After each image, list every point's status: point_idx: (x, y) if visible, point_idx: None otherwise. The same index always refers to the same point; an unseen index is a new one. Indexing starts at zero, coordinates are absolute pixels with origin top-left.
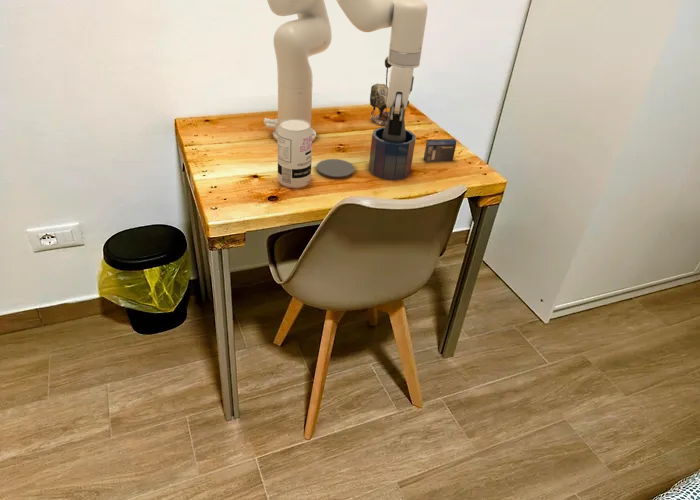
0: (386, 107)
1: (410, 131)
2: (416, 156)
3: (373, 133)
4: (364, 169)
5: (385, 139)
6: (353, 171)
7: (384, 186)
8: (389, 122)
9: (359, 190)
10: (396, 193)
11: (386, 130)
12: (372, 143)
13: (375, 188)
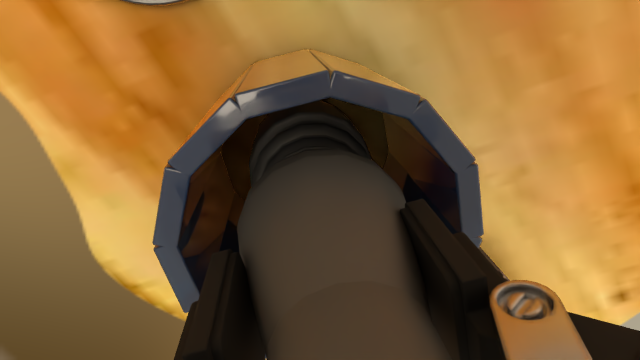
0: None
1: None
2: (494, 206)
3: (264, 94)
4: (249, 39)
5: (247, 200)
6: (156, 3)
7: (147, 182)
8: (193, 327)
9: (30, 98)
10: (124, 241)
11: (263, 224)
12: (225, 97)
13: (102, 156)
